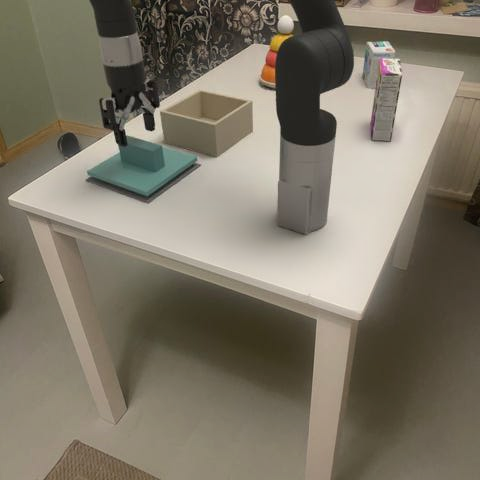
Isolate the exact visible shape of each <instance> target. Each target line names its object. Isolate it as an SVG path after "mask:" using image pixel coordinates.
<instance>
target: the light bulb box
mask: <svg viewBox="0 0 480 480" xmlns="http://www.w3.org/2000/svg"><path fill="white" fill-rule="evenodd" d="M365 46H366V47H365V52H364V53H365V54H364V60H363V66H362V67H363V68H362V74H361V77H362V79H363V81H364V84H365V86H366V88H367V89H375V87H376V79H377V72H378V65H379V59H380V58H386V59H387V58H392V59H393V58H394V59H395V57H396V51H395V49H394V48H393V46H392V45H391V43H390V42H389V41H387V40H386V41H366V44H365Z"/></svg>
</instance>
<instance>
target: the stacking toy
mask: <svg viewBox="0 0 480 480" xmlns="http://www.w3.org/2000/svg"><path fill="white" fill-rule="evenodd" d="M276 27H277V31H278V32H279V33H277V34H276V35H274V36H273V38H272V39H271V41H270V44H269V50H268V51H267V52H266V53H267V54H266V56H265V60H264V62H265V63H264V65H263V67H262V70H261V73H260V75H259V76H258V77H259V78H258V79H259V82H260V83H261V84H262V85H264V86H265V87H269V88H272V89H275V90H276V88H275V62H276V56H277V52H278V49H279V47H280V45H281V43H282V42H283V41H284V40H285V39H287V38H289V37H291V36H294V35H293V34H292V32H293V30H294V29H295V28H294V27H295V25H294V21H293V19H292V18H291V16H289V15H286V14H285V15H282V16H281V17H280V18H279V19H278V22H277V26H276Z"/></svg>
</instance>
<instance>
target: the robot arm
mask: <svg viewBox="0 0 480 480" xmlns="http://www.w3.org/2000/svg"><path fill="white" fill-rule="evenodd" d="M287 1H288V2H289V3H290V6H291V7H292V10H293V11H294V13H295V16H296V18H297V21H298V23H299V27H300V30H301V33H298V34H295V35H293V36H291V37H289V38H287V39H285V40H284V41H283V42H282V43H281V45H280V47H279V49H278V52H277V56H276V62H275V88H276V89H275V109H276V117H277V120H278V122H279V126H280V127H279V129H280V130H279V133H280V138H279V163H278V165H279V169H278V170H279V173H278V182H277V202H276V203H277V204H276V206H277V207H276V209H277V211H276V213H277V214H276V225H277V226H279V227H282V228H285V229H288V230H292V231H294V232H297V233H300V234H303V235H308V234H309V233H310V232H313V231H316V230H319V229H321V228H322V227H324V226H325V225H326V223H327V221H328V215H329V214H328V213H329V203H330V193H331V183H332V175H333V173H332V172H333V164H334V155H335V146H336V136H337V135H336V134H337V128H338V126H337V125H338V124H337V119H336V117H335V115H334V114H333V113H331V112H329V111H328V110H325V109H323V108H321V94H324V93H326V92H330V91H332V90H335V89H338V88H340V87H342V86H344V85H345V84H346V83H348V81H349V80H350V79H351V77H352V74H353V72H354V68H355V54H354V49H353V45H352V41H351V39H350V36H349V33H348V31H347V28H346V26H345V23H344V21H343V18H342V16H341V13H340V12H339V11H340V10H339V9H338V5H337V4H336V2H335V0H287ZM89 2H90V5H91V7H92V10H93V15H94V19H95V26H96V31H97V34H98V42H99V43H98V44H99V45H98V46H99V50H100V51H99V52H100V55H101V61H102V65H103V71H104V75H105V79H106V84H107V86H108V87H109V88H110V90H111V93H110V97H107V98H104V97H100V98H99V100H98V103H99V108H100V114H101V115H100V116H101V120H102V126H103V128H104V129H107V130H109V131H113V135H114V139H115V140H114V141H115V143H116V145H117V146H118V145H119V146H122V147H126V146H127V145H128V143H127V138H126V136H127V134H126V129H125V125H126V122H127V120H129V118H130V115H131V114H132V113H134V111H136V110H142V117H143V123H144V124H143V125H144V129H145V130H146V131H148V132H154V131H156V122H155V115H154V114H155V112H156V109H158V108H160V106H161V104H160V103H161V102H160V98H159V92H158V88H157V82H156V80H155V79H151V78H147V77H146V71H145V70H146V69H145V63H144V58H143V50H142V46H141V44H142V43H141V40H140V37H139V34H138V29H137V22H136V17H135V11H134V5H133V2H132V1H131V0H89ZM120 112H122V113H120Z"/></svg>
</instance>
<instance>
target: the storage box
mask: <svg viewBox="0 0 480 480" xmlns="http://www.w3.org/2000/svg"><path fill="white" fill-rule="evenodd" d="M253 105H254V104H253V100H251V99H246V98H241V97H236V96H231V95H227V94H222V93H218V92H212V91H208V90H203V89H199V90H197V91H195V92H193V93H191V94H189V95H187V96H185V97H184V98H182V99H180V100H178V101H176V102H174V103H173V104H170V105H168V106H167V107H165V108H163V109H161V110H160V111H159V116H160V123H161V129H162V135H163V142H164V143H166V144H169V145H173V146H176V147H179V148H183V149H188V150H191V151H195V152H198V153H200V154H205V155H208V156H211V157H215V158H218V157H220V156H221V155H222V154H223V153H226V152H227V151H228V150H229V149H231V148H232V147H234V146H235V145H236V144H237V143H239V142H240V141H242V140H243V139H244V138H246V137H247V136H248V135H250V134H251V133H253V131H254V121H253V120H254V119H253V118H254V116H253V111H254V110H253Z"/></svg>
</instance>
